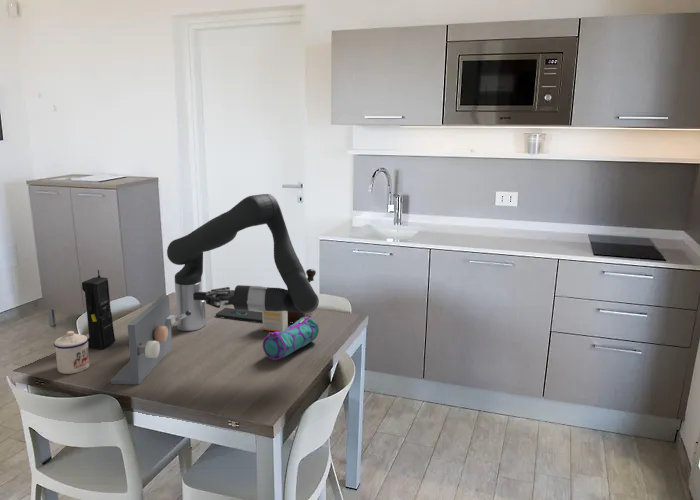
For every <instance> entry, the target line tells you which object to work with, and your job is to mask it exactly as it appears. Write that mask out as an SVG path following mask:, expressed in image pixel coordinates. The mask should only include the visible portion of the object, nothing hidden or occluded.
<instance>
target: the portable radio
mask: <svg viewBox="0 0 700 500" xmlns="http://www.w3.org/2000/svg"><path fill="white" fill-rule="evenodd" d="M97 273H98V274H97V277H92V278H89V279H87V280H84V281H82V282H81V287H82V288H81V289H82V291H83V292H84V298H85V308H86V316H87V318H86V319H87V327H88V337H87V338H88V348H89V349H90V348H92V349H98V350H104V349H105V348H107V347H109V346H111V345H112V344H114V343H115V342H116V338H115V330H114V329H115V328H114V324H113V323H114V322H113V313H112V310H111V299H110V289H109V288H110V287H109V279H108V277H103V276H102V277H101V275H100V270H97Z"/></svg>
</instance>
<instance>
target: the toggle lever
mask: <svg viewBox="0 0 700 500" xmlns="http://www.w3.org/2000/svg"><path fill="white" fill-rule="evenodd" d="M190 315H191V311H189V310H188V311H186V312H185V313H184V314H182V315H180V316H178V317H177V316H175V322H177V321H179V320H180V319H182V318H184V317H186V316H190Z"/></svg>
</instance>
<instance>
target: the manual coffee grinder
mask: <svg viewBox="0 0 700 500" xmlns="http://www.w3.org/2000/svg"><path fill="white" fill-rule="evenodd" d="M305 274H306V277H307V279H308V281H309V283H311V282H314V277H315V276H316V274H317V273H316V270H315V269H313V268H308V269H307V270H306V271H305ZM287 313H288V322H293V323H292V324H294V323H295V322H296V321H298V320H299V319H301V318H303V317H309V318H310V319H311V317H310V315H311V316H312V312H310V313H299V312H290V311H287Z"/></svg>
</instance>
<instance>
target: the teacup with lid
mask: <svg viewBox="0 0 700 500" xmlns="http://www.w3.org/2000/svg"><path fill="white" fill-rule="evenodd" d="M88 338H89V337H88V336H86V335H84V334H81V333H80V334H79V333H75V331H73V330H69V331H67V332H66V334H65V335H63V336H61V337H59V338H56V339H55V341H54V343H53V346H54V348H55V358H56V367H57V371H58V372H59V373H60V374H63V375H65V374H67V375H72V374H77V373H80V372H83V371H85V370H87V369H89V367H90V354H89V347H88Z"/></svg>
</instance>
